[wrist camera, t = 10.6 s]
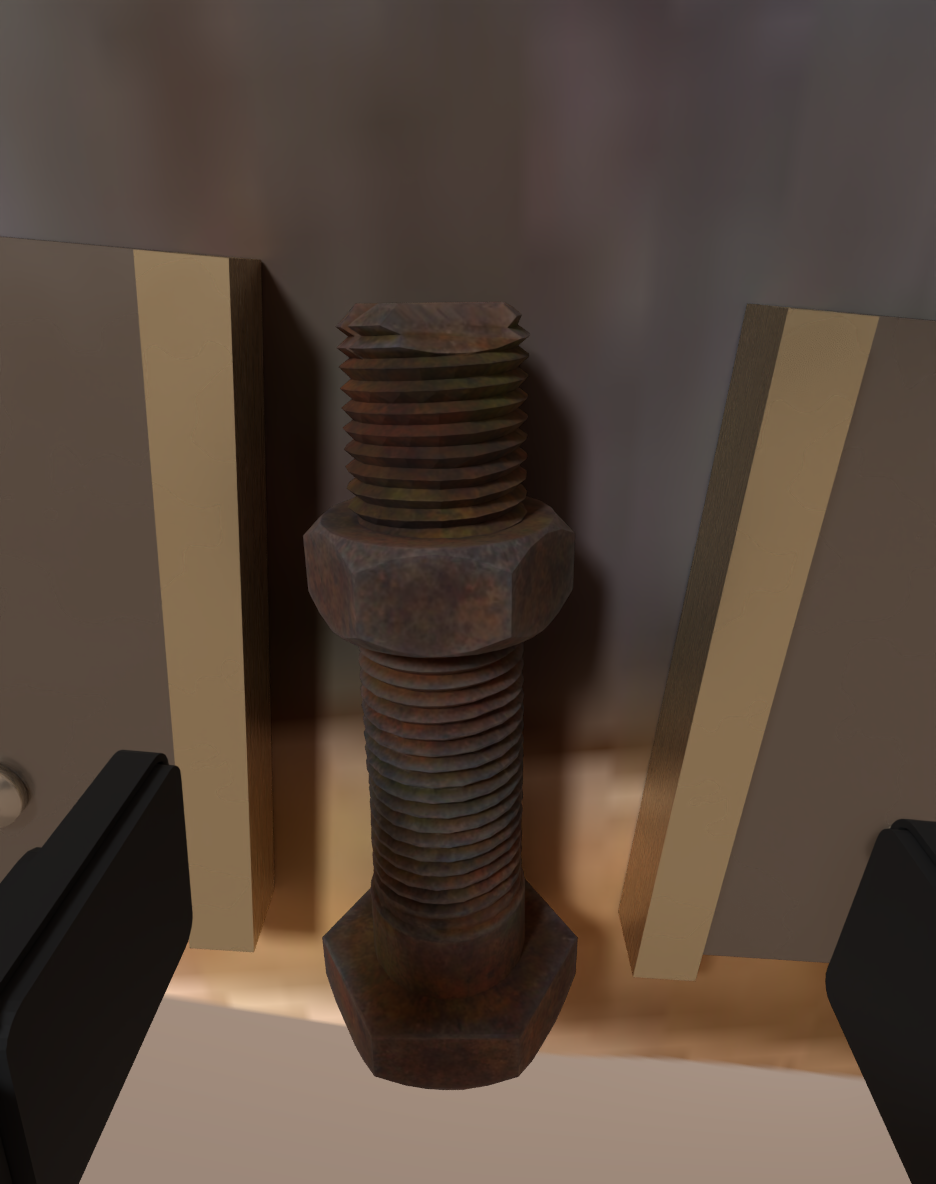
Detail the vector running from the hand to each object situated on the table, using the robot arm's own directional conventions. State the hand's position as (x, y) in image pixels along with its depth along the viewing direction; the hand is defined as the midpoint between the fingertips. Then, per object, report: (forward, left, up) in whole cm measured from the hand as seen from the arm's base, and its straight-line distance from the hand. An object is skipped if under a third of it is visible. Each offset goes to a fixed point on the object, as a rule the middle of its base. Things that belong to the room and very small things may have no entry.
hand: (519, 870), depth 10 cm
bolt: (+1, +1, -8) cm, 8 cm away
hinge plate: (+1, 0, -7) cm, 7 cm away
